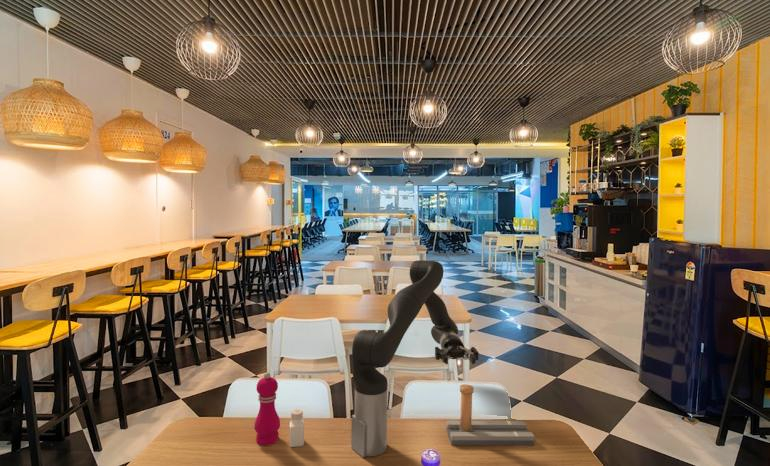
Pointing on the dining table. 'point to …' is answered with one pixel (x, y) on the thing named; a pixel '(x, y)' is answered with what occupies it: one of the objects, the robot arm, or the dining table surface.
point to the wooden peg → (466, 408)
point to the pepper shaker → (296, 428)
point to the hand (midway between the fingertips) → (460, 361)
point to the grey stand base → (491, 433)
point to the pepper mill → (267, 411)
